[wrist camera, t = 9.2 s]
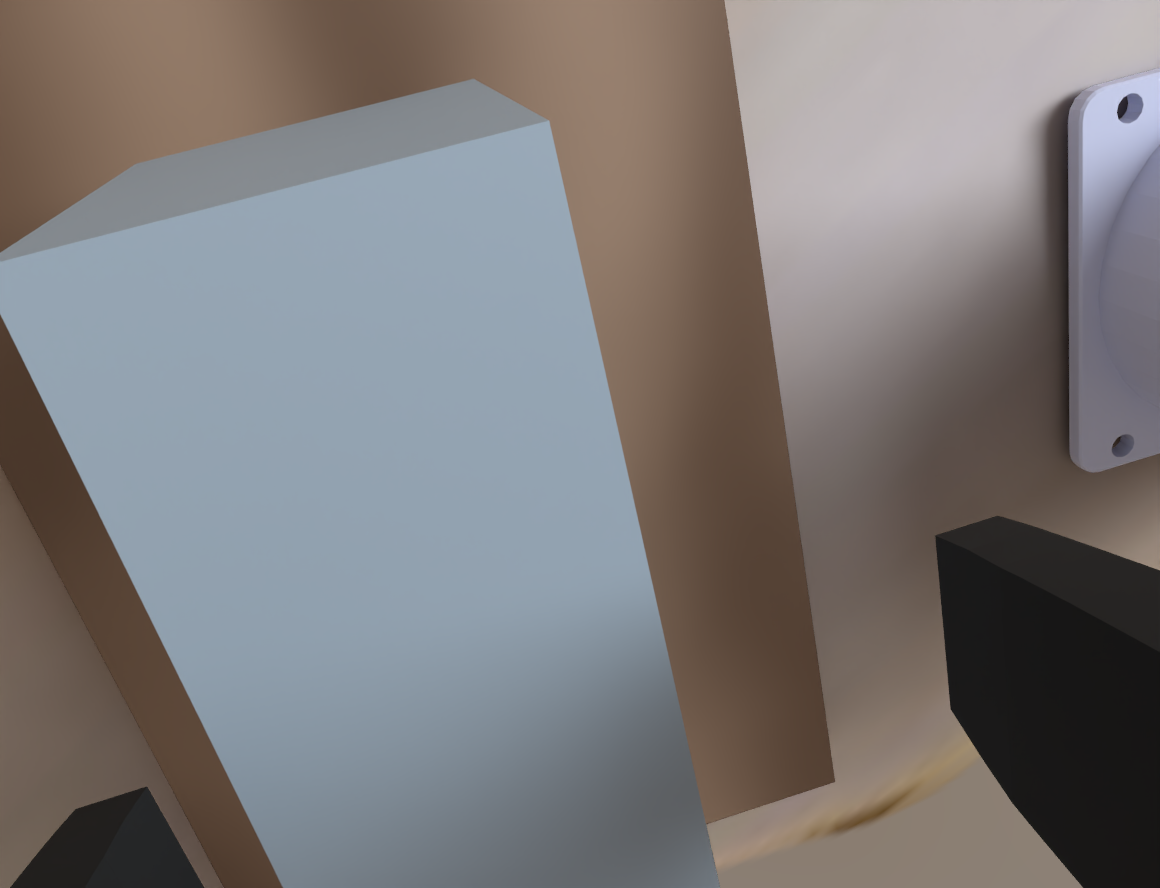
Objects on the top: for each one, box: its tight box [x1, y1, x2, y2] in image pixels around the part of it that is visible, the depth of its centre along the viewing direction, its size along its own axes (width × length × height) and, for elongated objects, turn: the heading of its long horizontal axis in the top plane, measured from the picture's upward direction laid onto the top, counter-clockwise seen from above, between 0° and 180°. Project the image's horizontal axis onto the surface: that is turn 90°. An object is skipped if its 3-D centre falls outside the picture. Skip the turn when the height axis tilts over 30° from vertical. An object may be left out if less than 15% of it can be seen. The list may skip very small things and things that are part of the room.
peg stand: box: [0, 0, 835, 888], centre depth 17 cm, size 13×19×4 cm
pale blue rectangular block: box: [0, 79, 720, 888], centre depth 13 cm, size 14×4×6 cm, turn 13°
